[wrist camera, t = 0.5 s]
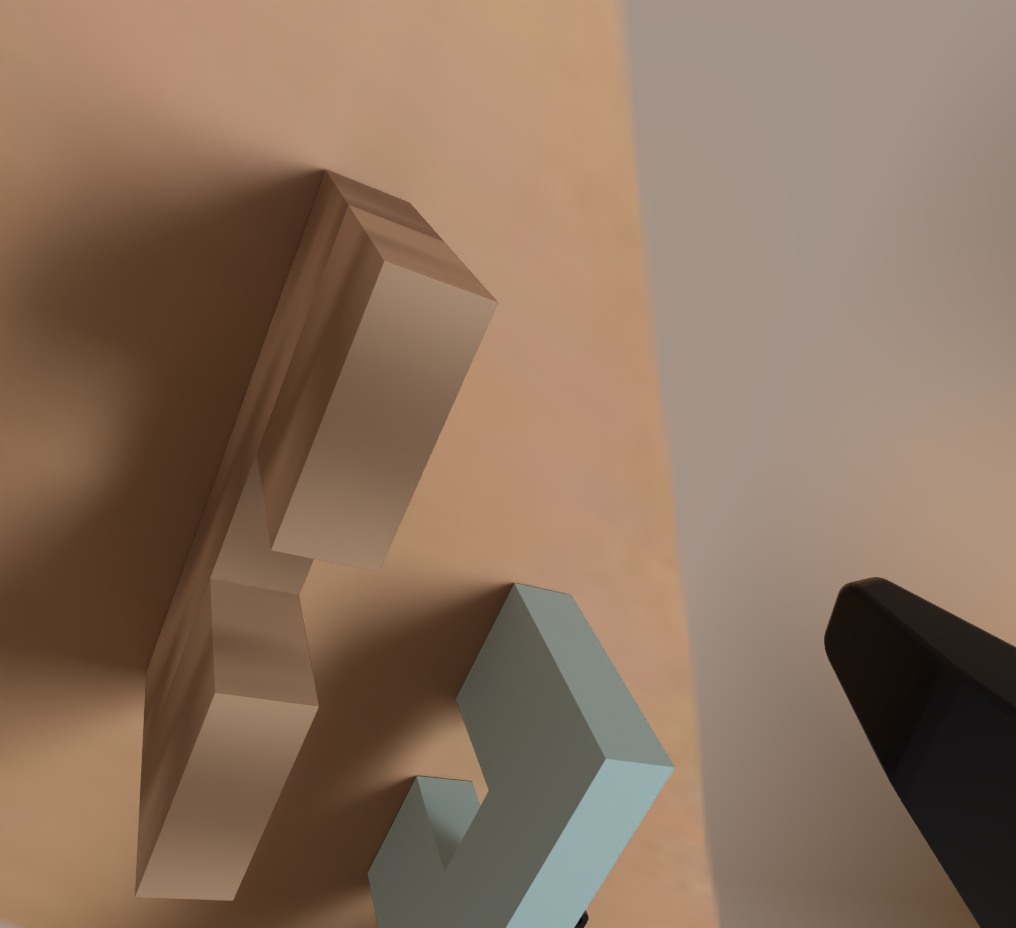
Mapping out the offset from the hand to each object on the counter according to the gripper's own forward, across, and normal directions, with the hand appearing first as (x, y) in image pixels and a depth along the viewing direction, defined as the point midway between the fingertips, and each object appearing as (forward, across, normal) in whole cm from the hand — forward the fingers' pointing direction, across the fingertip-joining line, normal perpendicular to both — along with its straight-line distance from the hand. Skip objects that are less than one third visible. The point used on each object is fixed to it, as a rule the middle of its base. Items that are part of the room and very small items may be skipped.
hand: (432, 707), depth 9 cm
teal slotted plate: (+12, -4, +18) cm, 22 cm away
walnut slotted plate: (+14, +1, +7) cm, 15 cm away
